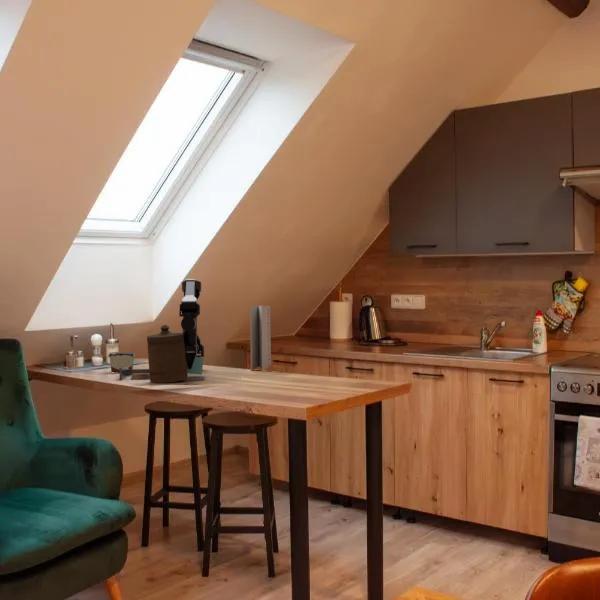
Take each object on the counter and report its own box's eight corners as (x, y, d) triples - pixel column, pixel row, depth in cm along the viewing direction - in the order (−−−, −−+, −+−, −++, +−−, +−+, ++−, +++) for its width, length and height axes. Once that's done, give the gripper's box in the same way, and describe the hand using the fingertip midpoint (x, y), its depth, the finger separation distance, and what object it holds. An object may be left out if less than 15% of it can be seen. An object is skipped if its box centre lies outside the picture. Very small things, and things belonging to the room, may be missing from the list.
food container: (139, 373, 361) (138, 351, 361) (134, 374, 355) (134, 352, 355) (112, 373, 362) (112, 351, 362) (108, 374, 356) (108, 352, 356)
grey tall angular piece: (263, 375, 341) (262, 305, 341) (250, 374, 342) (249, 305, 343) (270, 372, 355) (270, 305, 355) (259, 372, 356) (258, 306, 356)
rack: (176, 375, 346) (176, 363, 346) (173, 379, 326) (173, 366, 327) (126, 376, 345) (126, 364, 345) (119, 380, 325) (119, 368, 325)
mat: (205, 378, 329) (205, 375, 329) (204, 380, 319) (204, 377, 319) (176, 378, 328) (176, 376, 328) (174, 380, 318) (174, 378, 318)
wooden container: (172, 376, 325) (168, 323, 323) (195, 378, 314) (190, 323, 313) (142, 382, 314) (138, 327, 313) (165, 384, 304) (160, 327, 302)
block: (201, 374, 325) (203, 357, 325) (201, 374, 322) (203, 357, 322) (177, 371, 324) (179, 354, 325) (176, 371, 321) (179, 354, 322)
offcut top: (161, 376, 330) (161, 373, 331) (161, 377, 327) (161, 373, 327) (133, 377, 330) (132, 373, 330) (131, 377, 326) (131, 374, 327)
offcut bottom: (163, 380, 331) (163, 376, 331) (162, 380, 327) (162, 377, 327) (132, 380, 330) (132, 377, 330) (130, 381, 326) (130, 377, 326)
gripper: (171, 330, 332) (172, 367, 332) (167, 331, 314) (168, 370, 313) (198, 330, 333) (198, 367, 333) (196, 330, 314) (196, 370, 314)
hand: (190, 368), depth 323 cm, fingers closed on block, 3 cm apart
